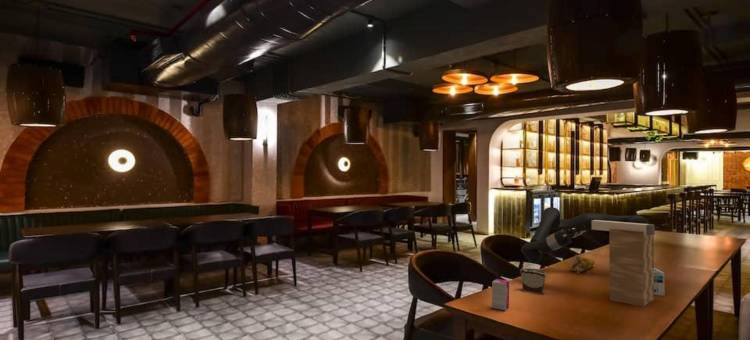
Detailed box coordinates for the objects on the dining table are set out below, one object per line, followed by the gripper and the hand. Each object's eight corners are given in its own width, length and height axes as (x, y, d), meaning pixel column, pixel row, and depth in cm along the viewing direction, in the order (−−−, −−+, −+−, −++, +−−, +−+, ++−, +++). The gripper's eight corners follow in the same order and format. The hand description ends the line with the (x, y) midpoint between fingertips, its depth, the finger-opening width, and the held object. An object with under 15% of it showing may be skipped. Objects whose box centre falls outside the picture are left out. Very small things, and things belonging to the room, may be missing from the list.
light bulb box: (665, 296, 196) (665, 272, 196) (648, 295, 198) (648, 271, 198) (654, 289, 207) (654, 267, 207) (639, 289, 208) (639, 266, 208)
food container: (550, 292, 203) (550, 270, 203) (545, 295, 198) (545, 273, 198) (525, 287, 211) (525, 266, 211) (519, 290, 207) (519, 269, 207)
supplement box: (505, 311, 175) (505, 283, 175) (491, 309, 178) (491, 281, 178) (509, 307, 180) (509, 280, 180) (495, 305, 183) (495, 278, 183)
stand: (621, 293, 201) (621, 225, 201) (653, 299, 191) (653, 228, 191) (609, 299, 191) (609, 228, 191) (643, 306, 181) (642, 231, 181)
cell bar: (595, 228, 201) (595, 219, 201) (654, 234, 183) (654, 224, 183) (591, 229, 198) (591, 220, 198) (651, 235, 180) (651, 225, 180)
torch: (594, 273, 255) (577, 275, 238) (582, 265, 260) (564, 266, 243) (601, 262, 253) (585, 262, 236) (589, 254, 258) (572, 254, 241)
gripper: (569, 245, 214) (599, 231, 204) (555, 248, 204) (586, 234, 194) (561, 231, 217) (590, 217, 206) (548, 234, 207) (577, 219, 197)
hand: (588, 225), depth 200 cm, fingers open, 8 cm apart
